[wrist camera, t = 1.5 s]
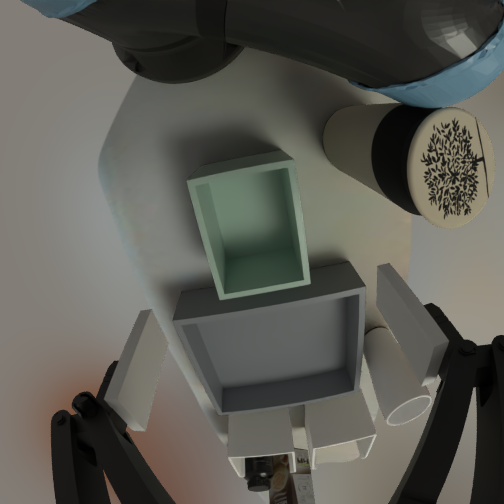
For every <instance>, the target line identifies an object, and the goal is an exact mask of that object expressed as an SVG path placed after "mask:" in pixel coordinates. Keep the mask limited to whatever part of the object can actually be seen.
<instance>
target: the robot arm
mask: <svg viewBox="0 0 504 504" xmlns="http://www.w3.org/2000/svg"><path fill="white" fill-rule="evenodd" d="M21 1H22V2H24V3H25V4H27V5H29V6H31V7H33V8H35V9H37V10H38V11H39V12H41V13H42V14H43V15H44V16H46V17H48V18H57V19H60V20H63V21H66V22H68V23H70V24H73V25H75V26H78V27H80V28H82V29H85V30H87V31H89V32H91V33H94V34H96V35H98V36H100V37H103V38H105V39H107V40H109V41H111V42H112V45H113V47H114V50H115V52H116V54H117V56H118V57H119V59H120V60H121V61H122V63H123V64H124V65H125V66H126V67H128V68H129V69H130V70H131V71H133V72H134V73H136V74H138V75H140V76H142V77H145V78H147V79H150V80H153V81H156V82H161V83H169V84H179V83H187V82H192V81H197V80H200V79H203V78H206V77H208V76H210V75H212V74H214V73H216V72H218V71H220V70H221V69H223V68H224V67H226V66H227V65H228V64H230V63H231V62H232V61H233V60H234V59H235V58H236V57H237V56H238V55H239V54H240V53H241V51H242V50H243V49H244V47H249V48H253V49H257V50H261V51H265V52H269V53H273V54H276V55H280V56H283V57H286V58H290V59H293V60H296V61H299V62H302V63H305V64H308V65H311V66H314V67H317V68H320V69H322V70H325V71H328V72H330V73H333V74H335V75H338V76H340V77H343V78H345V79H347V80H348V81H349V83H351V84H353V85H354V86H356V87H359V88H361V89H364V90H367V91H374V92H378V93H381V94H383V95H385V96H388V97H390V98H392V99H394V100H396V101H398V102H401V103H403V104H406V105H409V106H413V107H422V108H440V107H445V106H450V105H453V104H456V103H459V102H461V101H463V100H466V99H468V98H470V97H472V96H473V95H475V94H477V93H478V92H480V91H481V90H483V89H484V88H486V87H487V86H488V85H489V84H490V83H491V82H492V81H493V80H495V78H496V77H497V76H498V75H499V74H500V73H501V71H502V70H503V69H504V0H21ZM376 305H377V306H378V308H379V310H380V312H381V313H382V315H383V317H384V318H385V320H386V322H387V324H388V325H389V327H390V329H391V331H392V332H393V334H394V336H395V338H396V340H397V341H398V343H399V345H400V347H401V349H402V350H403V352H404V354H405V356H406V358H407V360H408V362H409V364H410V365H411V367H412V369H413V371H414V373H415V375H416V377H417V379H418V381H419V383H420V385H421V387H422V386H425V385H427V384H430V383H432V382H435V380H436V377H437V375H438V374H439V376H440V378H441V382H440V384H439V387H438V389H437V391H436V392H437V395H436V398H435V401H434V404H433V407H432V410H431V413H430V415H429V418H428V421H427V423H426V426H425V429H424V431H423V434H422V436H421V439H420V441H419V443H418V446H417V448H416V450H415V453H414V455H413V458H412V459H411V461H410V464H409V466H408V468H407V470H406V472H405V474H404V476H403V478H402V480H401V482H400V484H399V485H398V487H397V489H396V491H395V493H394V495H393V496H392V498H391V500H390V502H389V503H388V504H436V502H437V499H438V496H439V494H440V492H441V490H442V487H443V485H444V483H445V480H446V478H447V475H448V473H449V470H450V468H451V465H452V462H453V460H454V457H455V454H456V451H457V448H458V445H459V442H460V439H461V435H462V432H463V428H464V425H465V421H466V417H467V413H468V409H469V405H470V401H471V396H472V391H473V387H476V401H477V442H476V459H475V471H474V480H473V488H472V494H471V500H470V504H504V335H499V336H496V337H495V338H494V339H493V341H492V344H488V345H480V346H477V345H476V344H475V343H474V342H473V341H470V340H464V339H463V338H462V336H461V335H460V334H459V332H458V331H457V330H456V328H455V327H454V326H453V324H452V323H451V322H450V321H449V320H448V318H447V317H446V316H445V315H444V313H443V312H442V310H441V309H440V308H439V307H437V306H436V305H434V304H433V303H429V304H426V305H422V303H421V302H420V301H419V299H418V298H417V297H416V295H415V294H414V293H413V292H412V290H411V289H410V288H409V287H408V285H407V284H406V283H405V282H404V280H403V279H402V278H401V277H400V275H399V274H398V273H397V272H396V271H395V269H394V268H393V267H392V266H391V265H390V263H387V264H383V265H379V266H377V301H376ZM167 346H168V341H167V339H166V337H165V335H164V333H163V331H162V329H161V327H160V325H159V323H158V321H157V319H156V317H155V315H154V313H153V311H152V309H150V310H144V311H140V313H139V315H138V318H137V320H136V322H135V324H134V327H133V329H132V331H131V333H130V336H129V338H128V341H127V343H126V345H125V347H124V350H123V352H122V354H121V357H120V359H119V361H114V362H113V363H112V364H111V365H110V366H109V368H108V370H107V372H106V374H105V377H104V379H103V382H102V384H101V386H100V389H99V392H98V394H97V396H96V398H95V397H94V396H93V395H92V394H91V393H90V392H82V393H79V394H78V395H77V396H76V397H75V398H74V399H73V402H72V408H73V409H74V411H75V412H76V413H77V414H75V415H71V414H69V412H68V411H66V410H60V411H58V412H57V413H55V414H54V416H53V417H52V420H51V450H52V451H51V452H52V470H53V481H54V491H55V499H56V504H111V502H110V498H109V494H108V490H107V486H106V482H105V477H104V472H105V474H106V476H107V478H108V480H109V482H110V483H111V485H112V487H113V489H114V491H115V493H116V494H117V497H118V498H119V500H120V502H121V504H176V503H175V502H174V501H173V499H172V498H171V497H170V495H169V494H168V493H167V491H166V490H165V489H164V487H163V486H162V485H161V483H160V482H159V481H158V479H157V478H156V476H155V475H154V473H153V472H152V470H151V469H150V467H149V466H148V464H147V463H146V461H145V460H144V458H143V457H142V455H141V453H140V452H139V450H138V449H137V447H136V446H135V444H134V442H133V440H132V439H131V437H130V435H129V433H128V432H127V431H126V427H127V425H128V426H129V427H130V428H131V429H132V430H133V431H146V428H147V424H148V420H149V415H150V411H151V407H152V403H153V399H154V395H155V391H156V387H157V383H158V380H159V375H160V372H161V368H162V364H163V361H164V357H165V354H166V350H167ZM103 470H104V472H103Z"/></svg>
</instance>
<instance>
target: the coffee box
mask: <svg viewBox="0 0 504 504" xmlns="http://www.w3.org/2000/svg"><path fill="white" fill-rule="evenodd" d="M294 452H295V464H296V472H293V473H290V466H289V457H288V453H287V454H279V455H275V456H273V463H274V476H273V477H272V478H271V479H270V481H271V489H269V499H270V504H315V499H314V492H313V484H312V477H311V470H310V463H309V456H308V450H301V449H295V448H294Z"/></svg>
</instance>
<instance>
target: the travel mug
mask: <svg viewBox="0 0 504 504" xmlns="http://www.w3.org/2000/svg"><path fill="white" fill-rule="evenodd" d="M323 146H324V150H325V153H326V155H327V157H328V159H329V160H330V162H331V163H332V164H333V165H334V166H335V167H336V168H337V169H339V170H340V171H342V172H344V173H346V174H347V175H349V176H351V177H352V178H354V179H356V180H358V181H359V182H361V183H363V184H364V185H366V186H368V187H369V188H371V189H373V190H374V191H376V192H377V193H379V194H381V195H382V196H384V197H385V198H387V199H389V200H390V201H392V202H393V203H395V204H396V205H398V206H399V207H401V208H402V209H404V210H406V211H407V212H409V213H412V214H415V215H421V216H423V217H424V218H425V219H426V220H427V221H428V222H430V223H432V224H433V225H435V226H437V227H441V228H446V229H451V228H457V227H460V226H463V225H465V224H467V223H468V222H470V221H471V220H472V219H474V218H475V217H476V216H477V215H478V214H479V212H480V211H481V209H482V208H483V207H484V205H485V204H486V202H487V200H488V198H489V195H490V192H491V190H492V186H493V181H494V174H495V158H494V153H493V147H492V144H491V141H490V138H489V136H488V134H487V132H486V130H485V128H484V127H483V125H482V124H481V123H480V121H478V119H477V118H476V117H474V116H473V115H472V114H470V113H469V112H467V111H465V110H463V109H460V108H456V107H446V108H442V107H440V108H422V107H413V106H409V105H406V104H403V103H388V104H371V105H359V106H349V107H345V108H342V109H340V110H338V111H337V112H335V113H334V114H333V115H332V116H331V117H330V119H329V120H328V122H327V123H326V126H325V129H324V133H323Z"/></svg>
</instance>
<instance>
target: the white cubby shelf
mask: <svg viewBox="0 0 504 504" xmlns="http://www.w3.org/2000/svg"><path fill="white" fill-rule="evenodd" d="M304 409H305V431H306V437H307V443H308V449H309V455H310V461H311V468H312V469H317V468H318V467H317V461H316V456H315V449H319V448H324V447H329V446H334V445H339V444H343V443H348V442H352V441H356V442H357V446H358V449H359V453H360V457H361V459H363V458H366V457H367V455H368V453H369V451H370V449H371V446H372V444H373V442H374V439H375V437H376V435H377V433H376V430H375V427H374V424H373V421H372V418H371V415H370V412H369V410H368V407H367V404H366V401H365V398H364V395H363V393H362V390H361V389H359V392H357V393H353V394H349V395H345V396H341V397H337V398H333V399H328V400H323V401H319V402H314V403H309V404H304ZM287 453H288V457H289V466H290V473H293V472H296V464H295V452H294V444H293V436H292V429H291V422H290V414H289V407H286V408H280V409H274V410H266V411H259V412H251V413H241V414H231V415H229V423H228V459H229V461H230V462H231V464H232V466H233V468H234V469H235V471H236V473H237V474H238V476H239V477H245V457H259V456H270V455H279V454H287Z"/></svg>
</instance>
